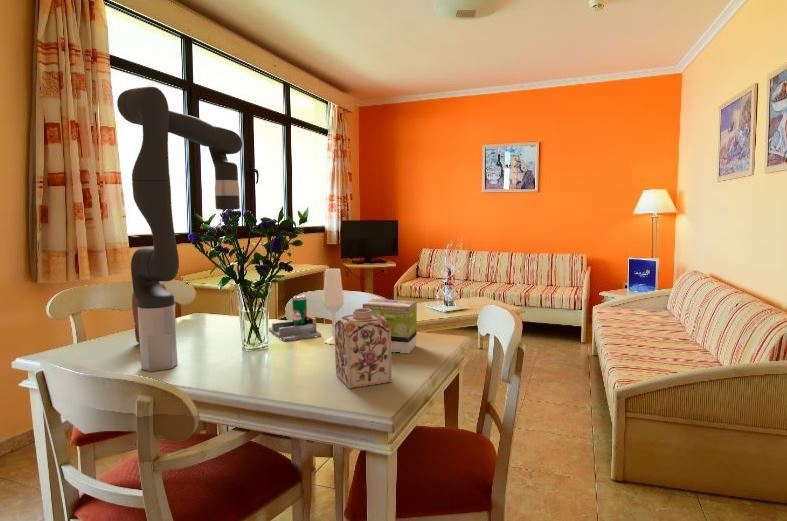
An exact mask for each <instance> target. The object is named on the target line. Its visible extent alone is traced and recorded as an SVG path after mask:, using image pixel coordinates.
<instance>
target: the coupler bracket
mask: <svg viewBox="0 0 787 521" xmlns="http://www.w3.org/2000/svg"><path fill="white" fill-rule="evenodd" d="M268 332H270V333H271V334H272V335H274V334H275V336H276V337H277V336H278V337H279V338H278V337H277V338H278V339H280V338H281V339H282V340H281V339H280V340H281V341H282V342H284V341H285V342H290V341H289V340H292V341H296V340H295V339H299V340H305V339H304V338H306V339H312V338H311V337H313V338H316V337H315V336H320V335H321V336H322V333H321V332H320V331H317V318H316V317H314V316H312V315H310V314H308V313H307V324H306V325H298V326H293V320H287V321H279V322H271V327H268Z"/></svg>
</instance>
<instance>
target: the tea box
mask: <svg viewBox="0 0 787 521" xmlns="http://www.w3.org/2000/svg"><path fill="white" fill-rule="evenodd" d="M417 303H418V302H417V301H413V300H400V299H397V300H396V299H385V298H384V299H383V298H382V299H381V298H371V299H370V300H369V301H367V302H365V303H363V304H362V308H367V309H371V310H372V314H375V315H380V316H383V317H384V318H386V320H387V323H388V325H389V327H390V330H391V353H395V352H400V353H399V354H403V353H408V354H410V352H411V351H412V350H413V349H414V348H415V347H416V346H417V335H418V334H417V332H418V331H417V330H418V329H417V323H418V322H417V321H418V320H417V318H418V316H417V315H418V314H417V313H418V312H417V310H418V309H417V308H418V307H417V306H418V305H417Z"/></svg>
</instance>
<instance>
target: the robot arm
mask: <svg viewBox="0 0 787 521" xmlns="http://www.w3.org/2000/svg"><path fill="white" fill-rule="evenodd" d="M116 103H117V104H116V105H117V106H116V107H117V109H118V112H119V114H120V115H121V117H122V118H123V119H124V120H125V121H127V122H128V123H130V124H134V125H138V126H142V142H141V146H140V149H139V153H138V154H137V158H136V159H135V162H134V165H133V167H132V172H131V185H132V195H133V200H134V203H135V205H136V206H137V208H138V210H139V212H140V213H141V215H142V216H143V217H144V219H145V221H146V223H147V225H148V227H149V229H150V231H151V235H152V240H153V247H148V246H147V247H146V246H145V247H140V248H138V249H136V250H135V251H134V252H133V254H132V257H131V260H130V272H131V282H132V289H133V290H132V291H133V292H134V296H135V298H136V300H137V304H138V322H139V338H140V344H139V352H140V367H141V369H142V370H143V371H148V373H149V372H156V371H157V372H158V371H163V370H169V369H174V367H176V366H177V365H178V346H177V334H176V333H177V330H176V328H177V327H176V310H175V309H176V307H175V296H174V294H173V293H171V292H170V291H168V290H167V289H166V290H165V289H164V288H162V286H161V285H160V284H161V283H160V282H171V281H173V280H174V279H175V278H177V275H178V273H179V270H180V266H179V265H180V261H179V259H180V257H179V253H178V251H179V250H178V246H177V245H178V244H177V240H176V234H175V227H174V218H173V208H172V190H171V189H172V188H171V176H170V175H171V174H170V167H169V165H170V164H169V133H170V134H173V135H175V136H177V137H178V136H179V137H181V138H184V139H186V140H188V141H190V142H192V143H195V144H197V145H200V146H202V147H208V150H209V154H210V157H211V160H212V161H211V162H212V164H213V166H214V177H215V180H214V182H215V184H214V199H215V200H214V201H215V202H214V203H215V209H216V210H222V212H220V213H219V215H220V214H221V213H223V212H224V211H225V210H226V209H232V210H233V211H234V210H240V208H241V203H240V202H241V200H240V198H241V197H240V185H239V173H238V172H239V171H238V165H237V164H236V163H235V162H232V161H229V160H228V157H227V155H235V154H237V153H239V152H240V151H241V150H242V148H243V140H242V138H241V136H240V135H239V134H238V133H237V132H235V131H234V130H231V129H228V128H225V127H220V126H216V125H213V124H211V123H209V122H207V121H204V120H203V119H201V118H199V117H195V116H192V115H188V114H185V113H180V112H177V111H173V110H170V109H169V108H170V107H169V103H168V100H167V97H166V95H165V94H164V92H163V91H162V90H161V89H160V88H158V87H156V86H152V85H151V86H141V87H136V88H135V87H133V88H129V89H126V90H124V91H122V92H121V93H120V94H119V96H118V97H117V101H116ZM219 220H220V224H221V219H219ZM220 224H219V225H220ZM237 232H238V227H237V228H236V233H237ZM222 243H223V244H224V245H229V246H234V245H233V244H232V242H231V241H230V240H226V241H224V242H223V241H222ZM133 292H132V293H133Z"/></svg>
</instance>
